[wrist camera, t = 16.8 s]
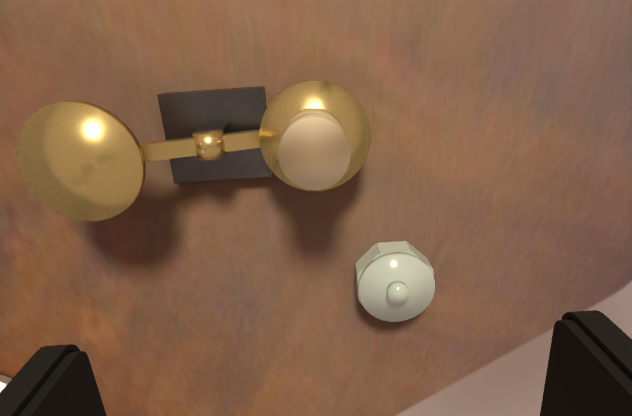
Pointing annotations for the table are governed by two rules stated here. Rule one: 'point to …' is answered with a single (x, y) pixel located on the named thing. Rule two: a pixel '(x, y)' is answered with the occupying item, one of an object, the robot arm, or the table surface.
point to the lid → (394, 281)
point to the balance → (172, 144)
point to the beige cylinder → (314, 149)
